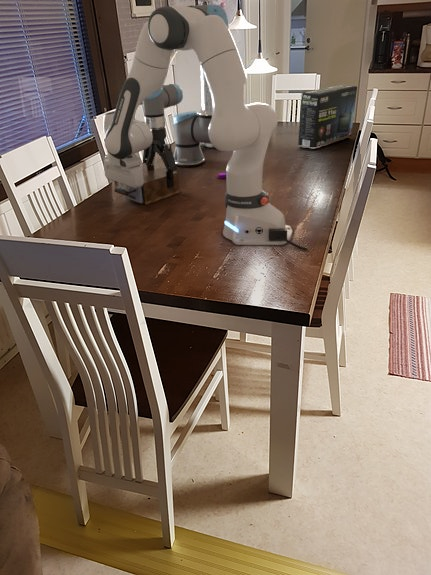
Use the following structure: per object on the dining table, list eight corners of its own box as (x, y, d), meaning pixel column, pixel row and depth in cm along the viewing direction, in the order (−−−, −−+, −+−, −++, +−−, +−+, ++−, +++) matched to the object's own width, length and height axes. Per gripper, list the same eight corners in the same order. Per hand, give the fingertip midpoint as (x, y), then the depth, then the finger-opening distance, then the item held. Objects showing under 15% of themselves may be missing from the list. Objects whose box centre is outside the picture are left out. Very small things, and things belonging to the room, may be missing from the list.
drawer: (129, 207, 171) (126, 190, 167) (114, 201, 177) (111, 185, 173) (173, 191, 184) (171, 176, 180) (157, 187, 190) (156, 171, 186)
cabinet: (145, 204, 175) (143, 183, 171) (128, 198, 182) (125, 178, 177) (179, 192, 186) (178, 172, 181) (162, 187, 192) (160, 167, 188)
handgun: (217, 176, 201) (217, 172, 200) (234, 175, 202) (234, 170, 201) (227, 191, 184) (227, 187, 183) (245, 189, 185) (245, 185, 184)
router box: (314, 151, 231) (318, 94, 217) (296, 148, 237) (299, 92, 224) (352, 138, 251) (358, 85, 238) (335, 135, 258) (340, 83, 245)
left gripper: (129, 125, 178) (136, 180, 189) (168, 133, 164) (173, 192, 175) (144, 122, 182) (150, 176, 194) (183, 129, 168) (187, 187, 179)
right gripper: (97, 154, 171) (103, 190, 178) (130, 164, 158) (135, 202, 165) (111, 151, 175) (116, 186, 182) (144, 160, 162) (148, 197, 169)
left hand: (161, 184), depth 184 cm, fingers closed on cabinet, 11 cm apart
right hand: (125, 194), depth 173 cm, fingers closed, pressing on drawer
